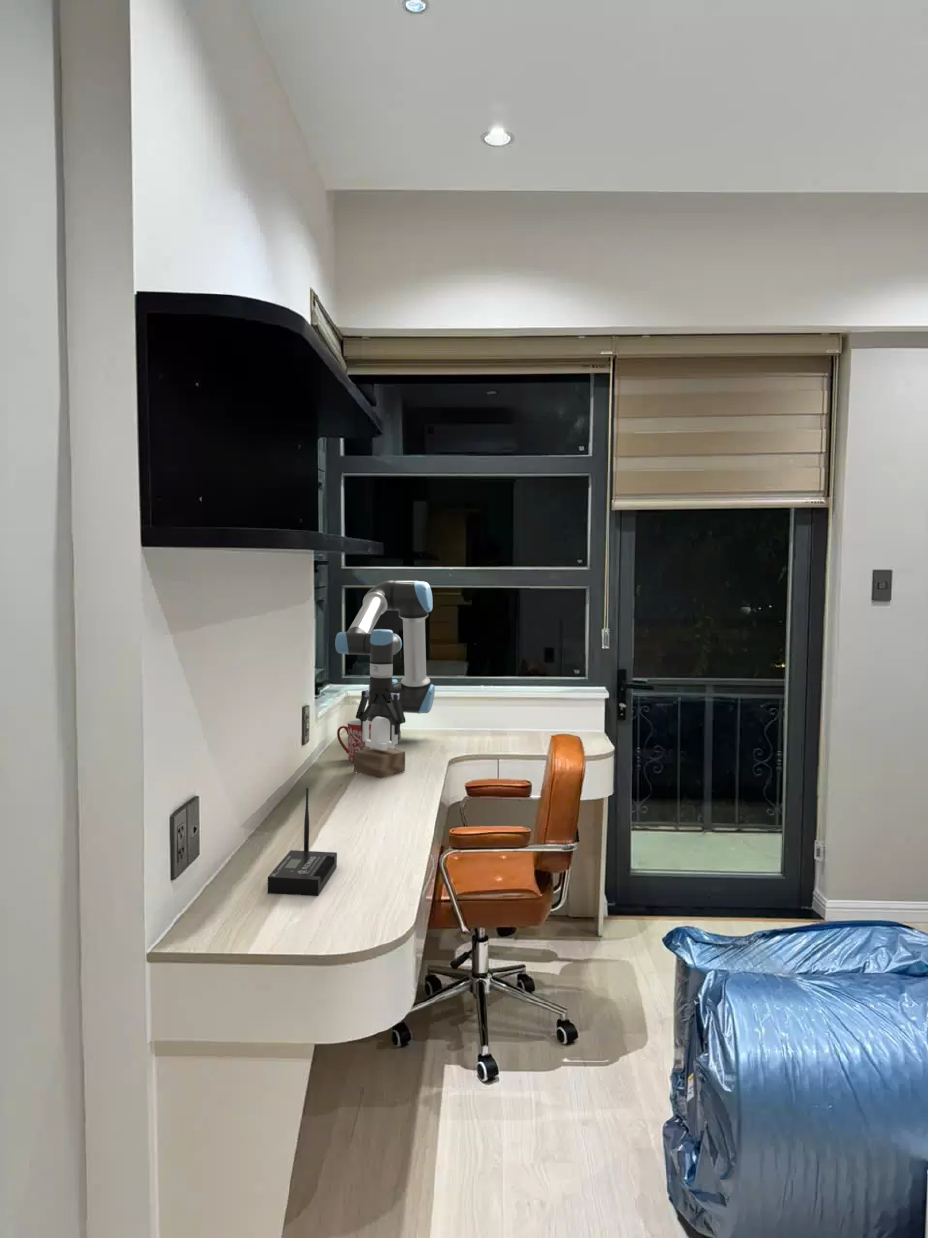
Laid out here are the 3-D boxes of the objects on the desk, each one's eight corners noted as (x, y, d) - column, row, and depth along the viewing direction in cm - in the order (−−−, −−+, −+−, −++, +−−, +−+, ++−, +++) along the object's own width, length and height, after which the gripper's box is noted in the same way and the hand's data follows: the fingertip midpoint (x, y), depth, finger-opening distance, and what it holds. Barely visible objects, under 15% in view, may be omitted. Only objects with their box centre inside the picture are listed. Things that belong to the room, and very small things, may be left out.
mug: (375, 758, 283) (376, 720, 282) (367, 763, 274) (368, 725, 273) (341, 756, 285) (342, 718, 284) (332, 761, 276) (333, 723, 276)
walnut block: (378, 766, 271) (378, 746, 271) (404, 772, 264) (405, 751, 264) (353, 772, 262) (353, 751, 261) (380, 779, 255) (380, 757, 254)
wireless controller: (326, 899, 159) (328, 815, 158) (259, 895, 160) (260, 811, 159) (348, 863, 179) (349, 789, 178) (288, 860, 180) (289, 786, 179)
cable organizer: (383, 750, 257) (383, 720, 257) (364, 745, 264) (364, 715, 264) (395, 748, 261) (396, 718, 260) (376, 743, 268) (377, 714, 268)
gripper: (345, 674, 263) (344, 740, 264) (405, 680, 253) (404, 748, 254) (358, 672, 270) (357, 736, 271) (417, 677, 260) (415, 744, 261)
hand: (379, 742), depth 263 cm, fingers closed on cable organizer, 11 cm apart
